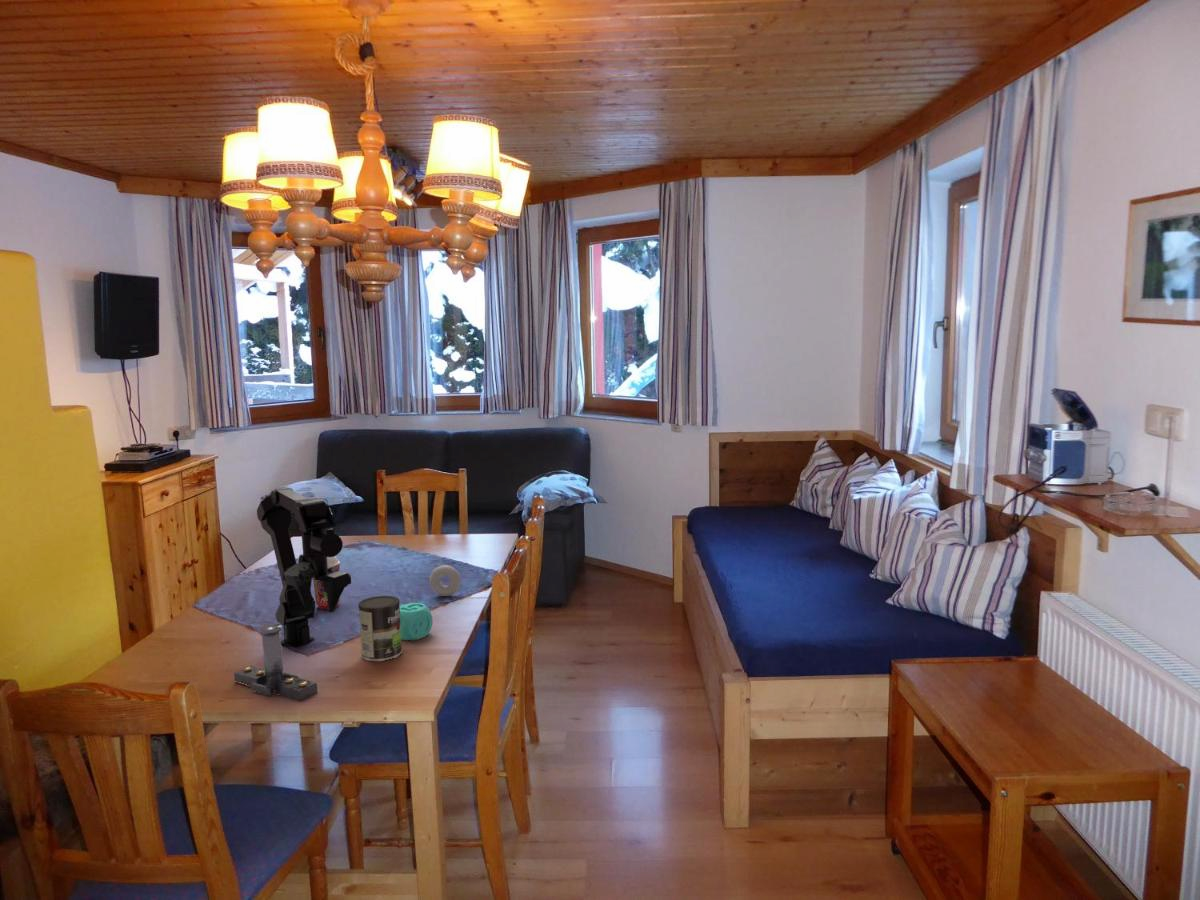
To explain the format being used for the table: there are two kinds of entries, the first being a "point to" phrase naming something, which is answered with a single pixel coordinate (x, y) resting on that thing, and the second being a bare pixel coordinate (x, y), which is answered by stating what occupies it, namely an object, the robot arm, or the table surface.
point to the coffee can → (380, 628)
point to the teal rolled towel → (415, 621)
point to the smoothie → (318, 586)
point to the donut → (451, 574)
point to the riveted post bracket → (287, 688)
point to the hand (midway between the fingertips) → (318, 609)
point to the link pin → (272, 654)
